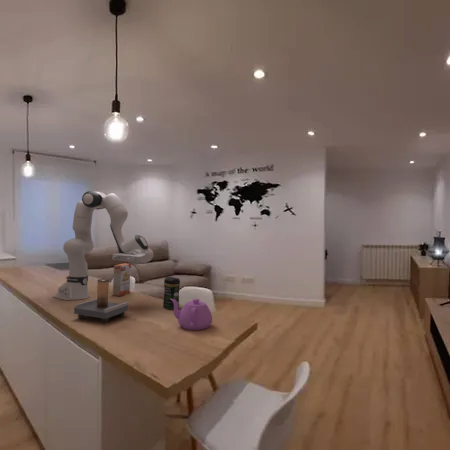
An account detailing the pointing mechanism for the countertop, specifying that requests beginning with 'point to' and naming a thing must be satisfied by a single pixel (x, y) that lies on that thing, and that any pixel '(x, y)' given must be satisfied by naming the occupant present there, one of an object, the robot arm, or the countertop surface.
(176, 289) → the coffee jar
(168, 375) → the countertop surface
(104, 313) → the grey rimmed tray
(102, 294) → the canister
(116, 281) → the cracker box
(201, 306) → the teakettle
